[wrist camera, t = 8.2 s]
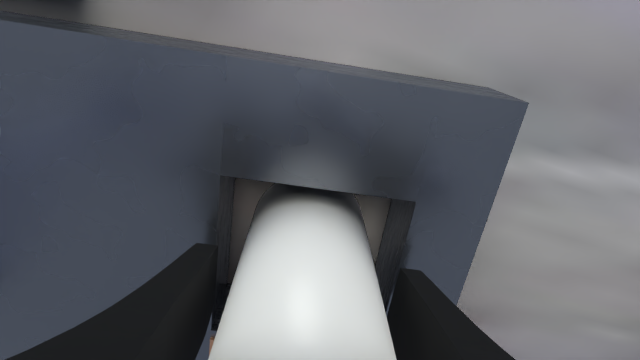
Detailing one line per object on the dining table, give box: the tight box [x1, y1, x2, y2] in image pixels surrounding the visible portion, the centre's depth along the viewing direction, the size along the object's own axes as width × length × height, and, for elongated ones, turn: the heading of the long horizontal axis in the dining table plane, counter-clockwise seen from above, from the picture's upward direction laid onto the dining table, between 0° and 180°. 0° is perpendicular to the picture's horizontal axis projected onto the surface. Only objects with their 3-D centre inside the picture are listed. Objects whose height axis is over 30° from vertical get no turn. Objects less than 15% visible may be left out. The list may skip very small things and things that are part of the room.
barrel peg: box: [208, 183, 397, 360], centre depth 11 cm, size 4×4×7 cm
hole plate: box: [0, 10, 529, 360], centre depth 13 cm, size 16×12×3 cm
